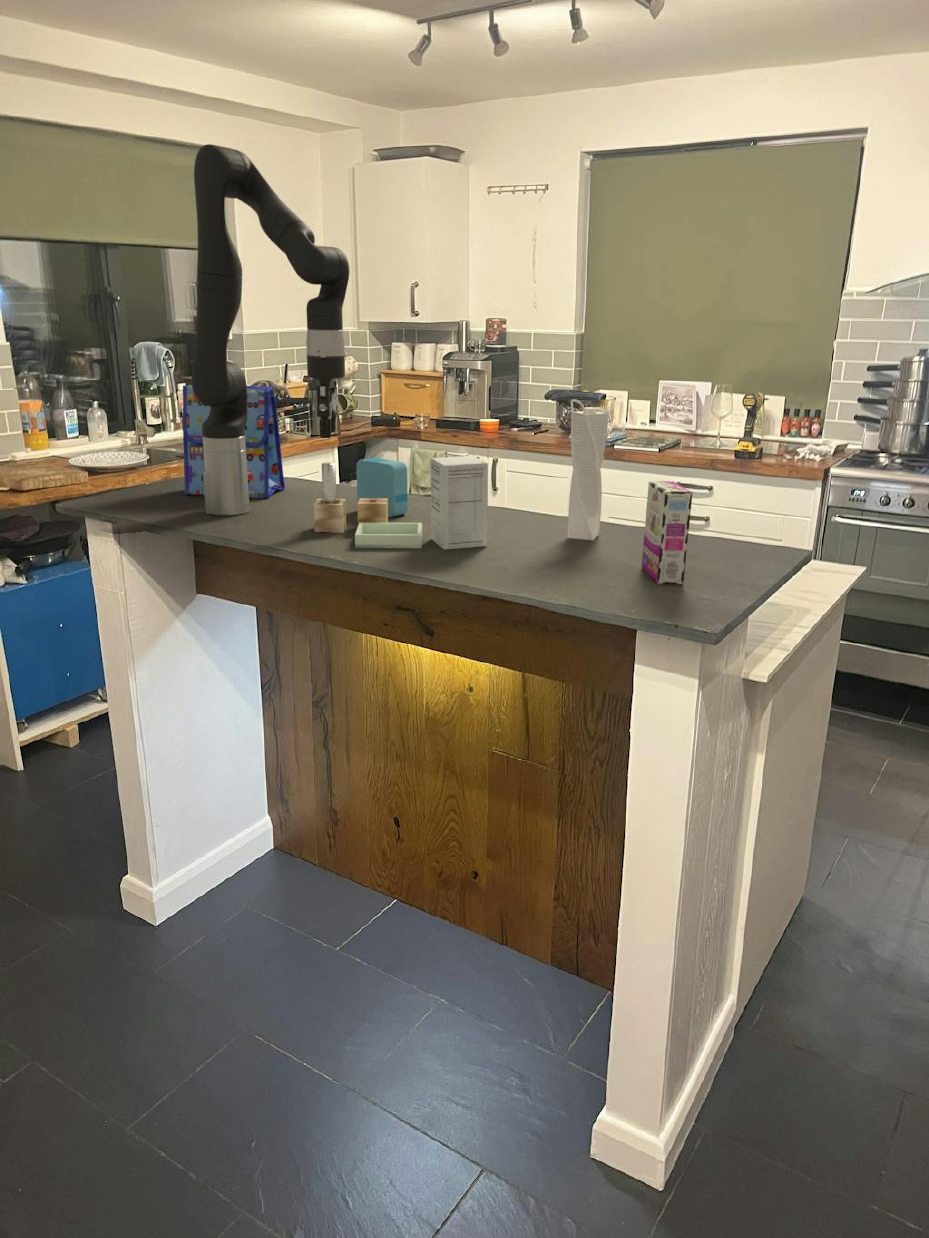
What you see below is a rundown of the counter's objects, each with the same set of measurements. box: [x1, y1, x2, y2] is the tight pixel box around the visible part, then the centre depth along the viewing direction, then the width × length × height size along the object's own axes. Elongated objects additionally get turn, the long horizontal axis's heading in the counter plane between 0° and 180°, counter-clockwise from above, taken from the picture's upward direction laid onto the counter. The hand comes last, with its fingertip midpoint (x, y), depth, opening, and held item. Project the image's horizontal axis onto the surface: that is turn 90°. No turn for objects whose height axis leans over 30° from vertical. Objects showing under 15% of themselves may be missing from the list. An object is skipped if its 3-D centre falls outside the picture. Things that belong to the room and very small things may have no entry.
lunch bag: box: [181, 384, 286, 499], centre depth 231 cm, size 22×14×29 cm, turn 82°
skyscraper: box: [567, 398, 610, 541], centre depth 191 cm, size 8×8×28 cm
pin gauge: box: [321, 462, 337, 504], centre depth 197 cm, size 3×3×14 cm
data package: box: [355, 457, 408, 518], centre depth 213 cm, size 12×4×12 cm, turn 50°
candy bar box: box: [641, 480, 694, 586], centre depth 165 cm, size 11×5×16 cm, turn 5°
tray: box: [354, 522, 423, 549], centre depth 189 cm, size 13×11×3 cm
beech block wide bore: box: [313, 498, 347, 534], centre depth 198 cm, size 6×6×6 cm
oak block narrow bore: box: [357, 498, 389, 526], centre depth 199 cm, size 6×6×6 cm
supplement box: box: [430, 455, 489, 551], centre depth 186 cm, size 10×9×17 cm
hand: (328, 435), depth 192 cm, fingers open, 8 cm apart
